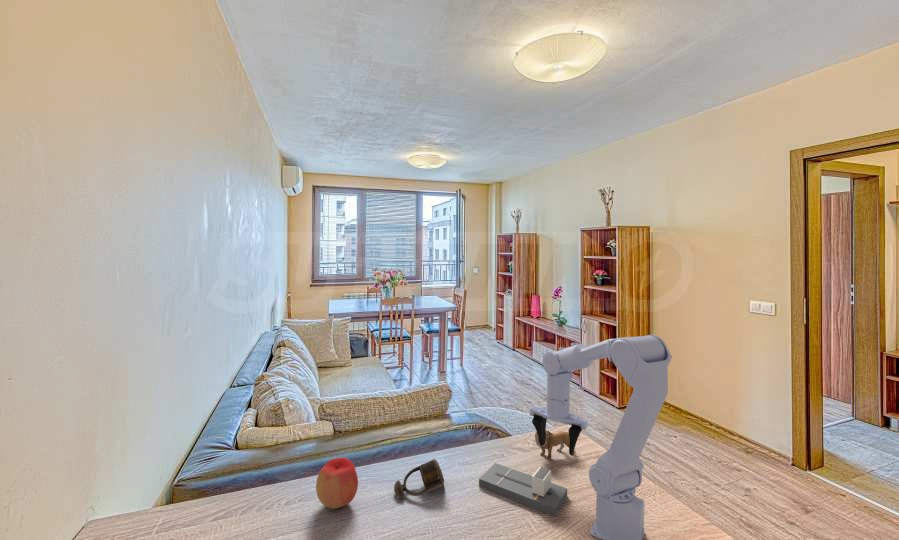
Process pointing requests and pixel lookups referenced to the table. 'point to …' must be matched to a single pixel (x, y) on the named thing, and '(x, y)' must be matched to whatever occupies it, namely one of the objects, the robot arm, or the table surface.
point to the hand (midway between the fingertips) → (556, 448)
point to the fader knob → (541, 481)
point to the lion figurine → (553, 442)
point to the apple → (337, 483)
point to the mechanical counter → (429, 476)
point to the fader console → (522, 489)
